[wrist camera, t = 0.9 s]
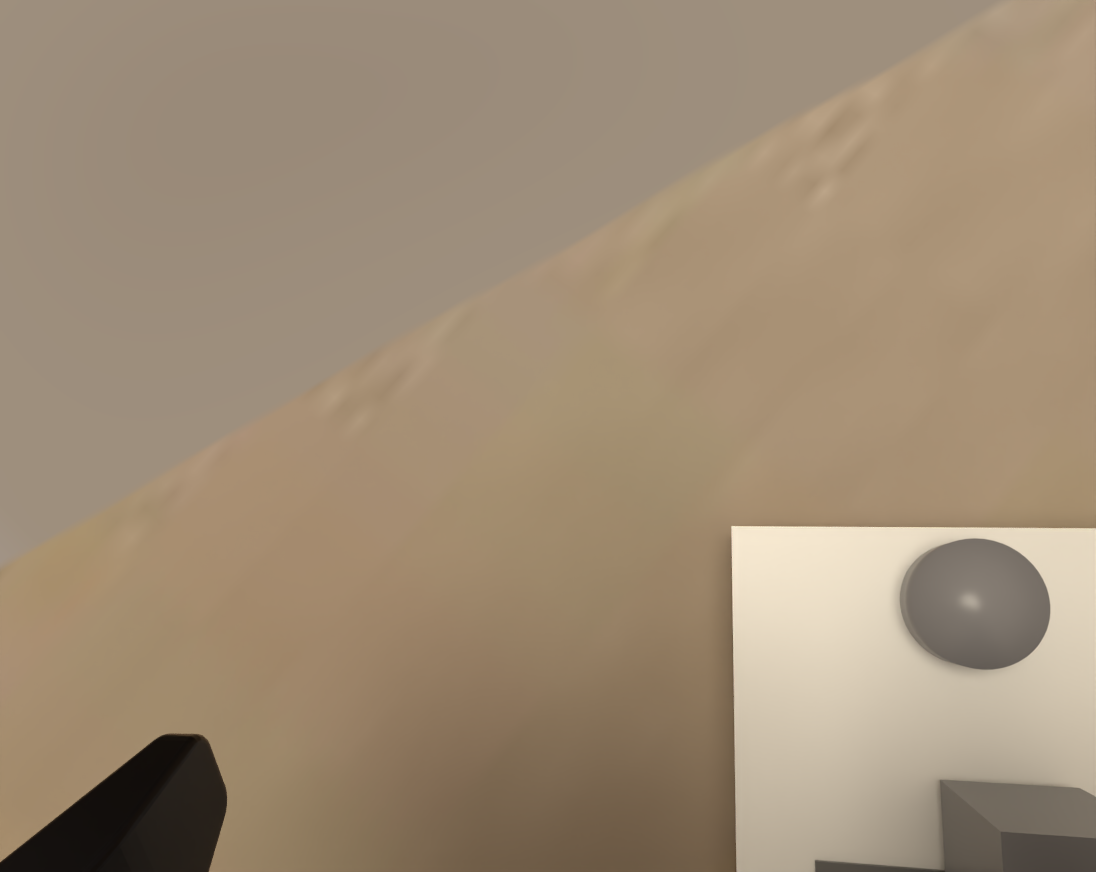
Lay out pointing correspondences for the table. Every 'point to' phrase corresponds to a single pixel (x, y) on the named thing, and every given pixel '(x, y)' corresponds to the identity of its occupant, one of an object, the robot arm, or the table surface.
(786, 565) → the mixer console
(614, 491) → the table surface
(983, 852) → the fader
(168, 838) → the robot arm
